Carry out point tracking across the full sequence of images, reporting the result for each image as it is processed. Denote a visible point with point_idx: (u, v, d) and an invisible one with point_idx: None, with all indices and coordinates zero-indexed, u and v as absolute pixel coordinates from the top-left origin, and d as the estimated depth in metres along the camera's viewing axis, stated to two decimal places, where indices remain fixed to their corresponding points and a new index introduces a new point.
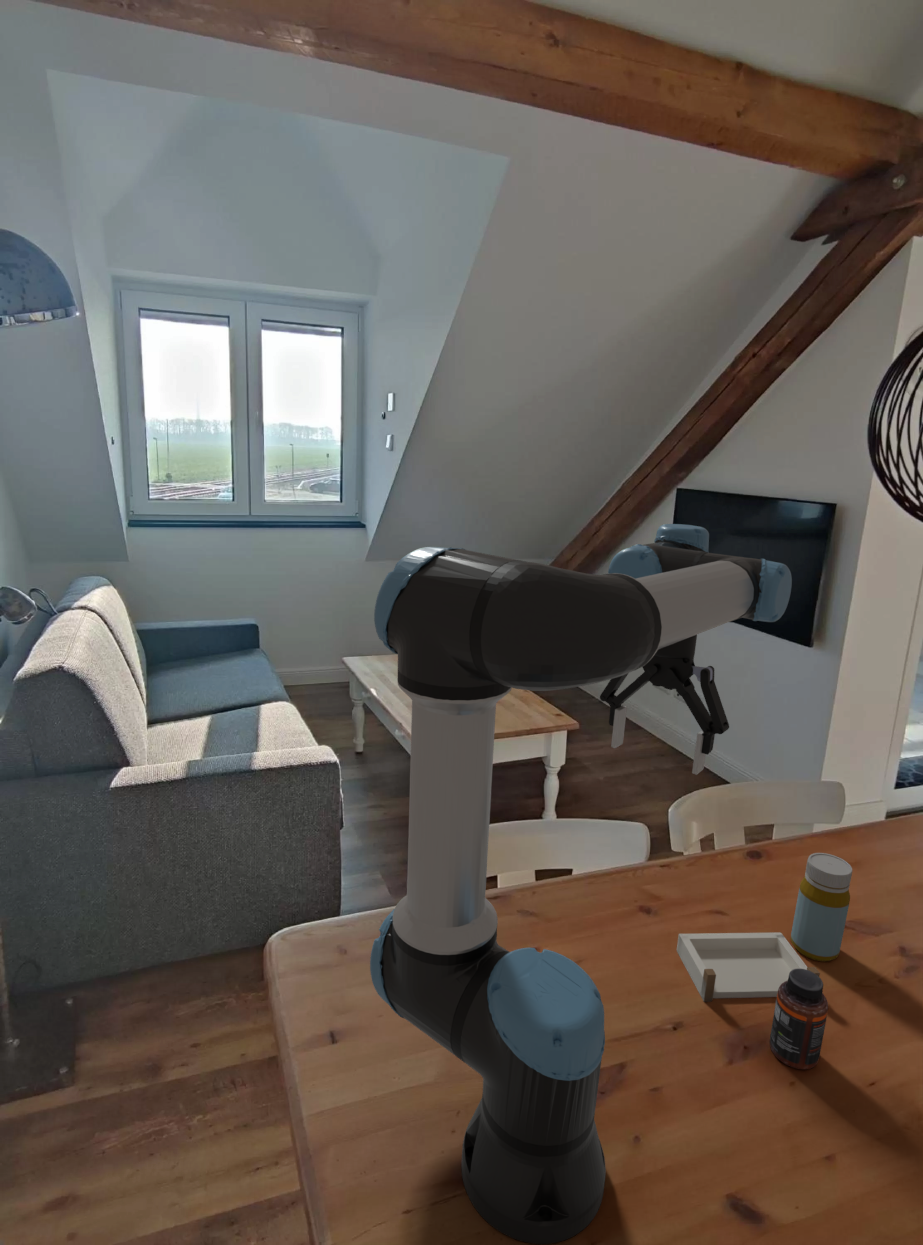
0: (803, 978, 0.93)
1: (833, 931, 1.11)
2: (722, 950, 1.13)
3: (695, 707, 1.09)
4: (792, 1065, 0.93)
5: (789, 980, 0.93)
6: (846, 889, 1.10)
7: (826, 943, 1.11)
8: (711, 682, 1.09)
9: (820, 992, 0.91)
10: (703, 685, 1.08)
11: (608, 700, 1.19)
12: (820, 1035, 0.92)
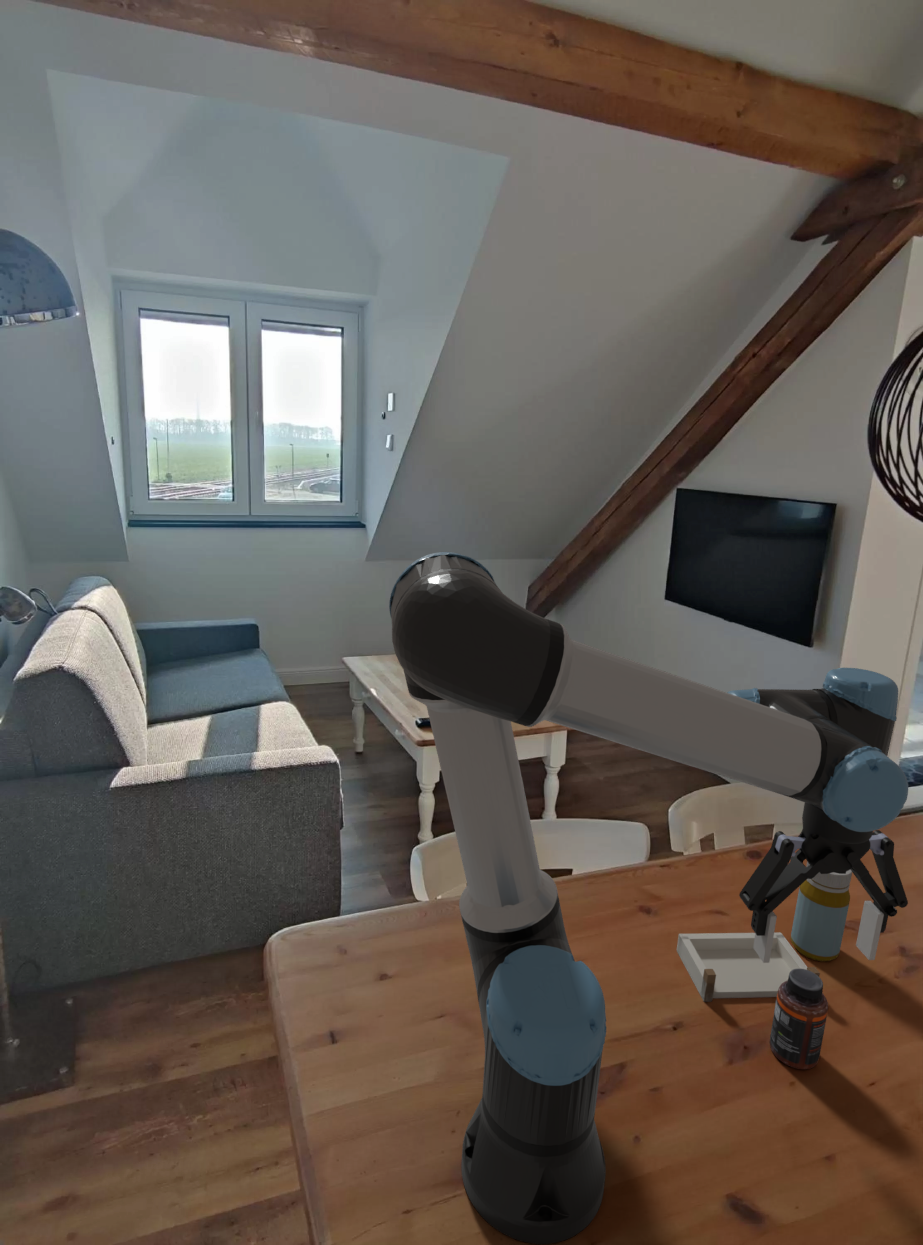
0: (803, 978, 0.93)
1: (833, 931, 1.11)
2: (722, 950, 1.13)
3: (875, 885, 0.89)
4: (792, 1065, 0.93)
5: (789, 980, 0.93)
6: (846, 889, 1.10)
7: (826, 943, 1.11)
8: None
9: (820, 992, 0.91)
10: (887, 859, 0.88)
11: None
12: (820, 1035, 0.92)
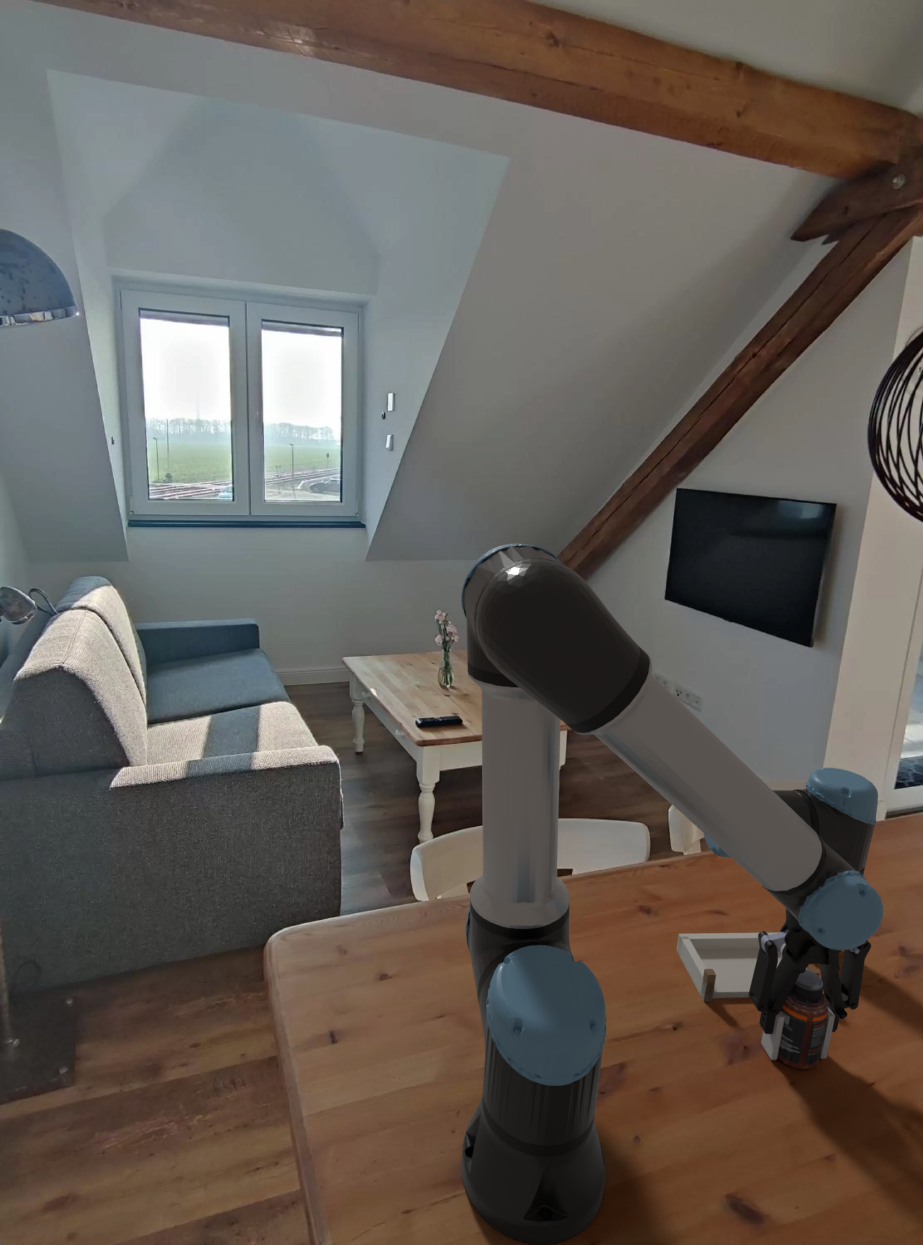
0: (804, 978, 0.93)
1: None
2: (722, 950, 1.13)
3: (838, 985, 0.92)
4: (792, 1065, 0.93)
5: None
6: None
7: None
8: None
9: (820, 992, 0.91)
10: (859, 959, 0.91)
11: None
12: (820, 1035, 0.92)
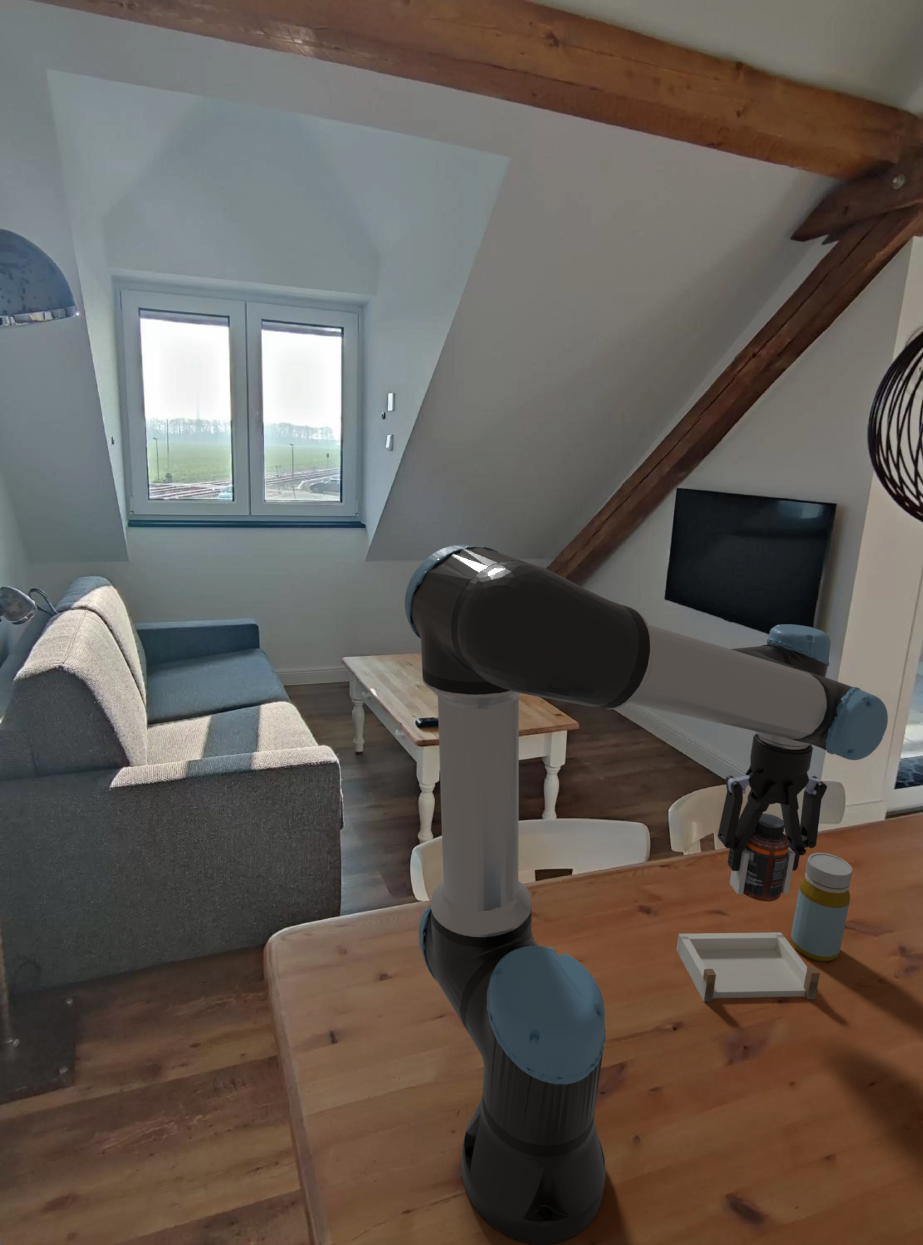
0: (767, 819, 1.03)
1: (833, 931, 1.11)
2: (722, 950, 1.13)
3: (798, 824, 1.02)
4: (756, 898, 1.03)
5: None
6: (846, 889, 1.10)
7: (826, 943, 1.11)
8: None
9: (781, 830, 1.01)
10: (816, 799, 1.01)
11: None
12: (781, 869, 1.02)
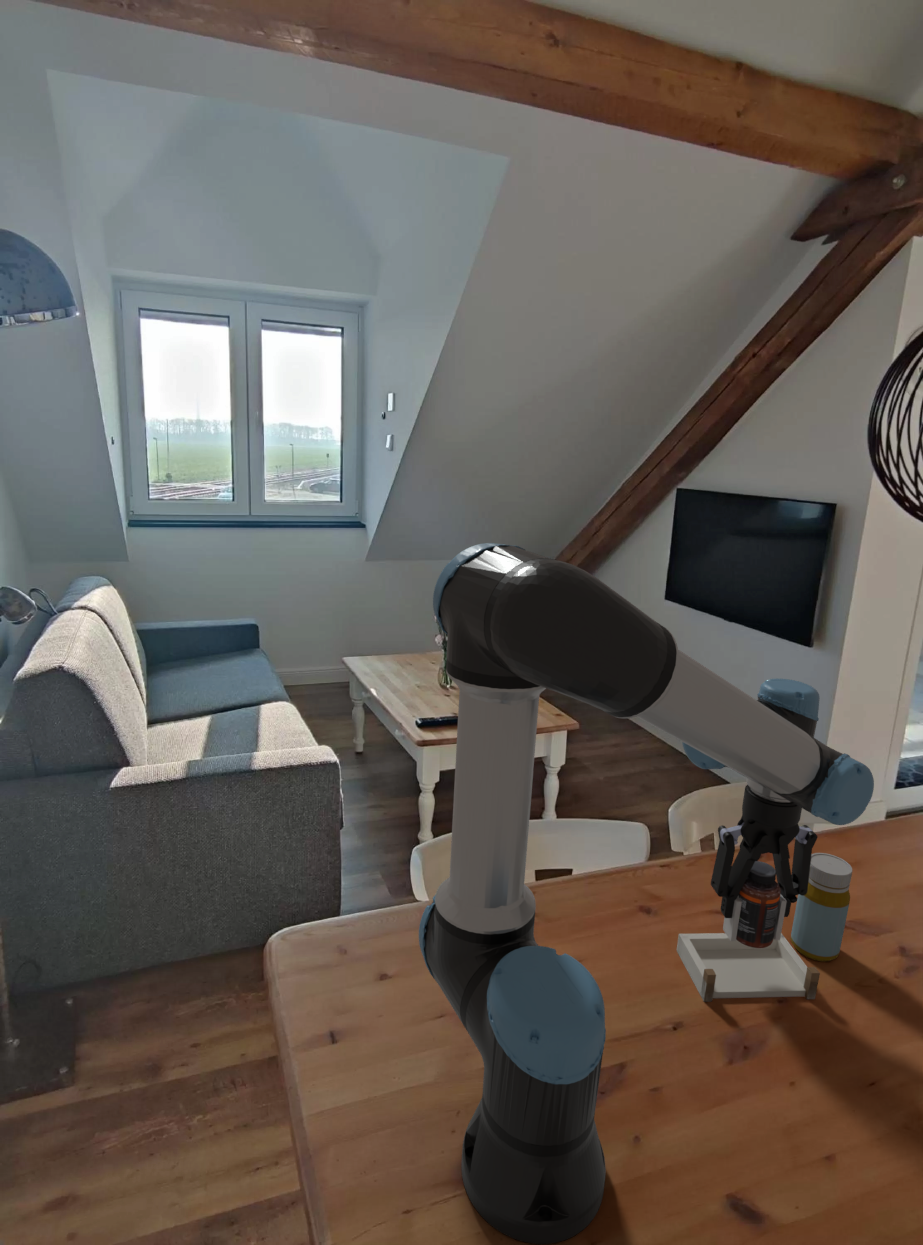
0: (759, 867, 1.05)
1: (833, 931, 1.11)
2: (722, 950, 1.13)
3: (789, 872, 1.04)
4: (749, 944, 1.05)
5: None
6: (846, 889, 1.10)
7: (826, 943, 1.11)
8: None
9: (773, 878, 1.03)
10: (807, 848, 1.03)
11: None
12: (773, 916, 1.04)
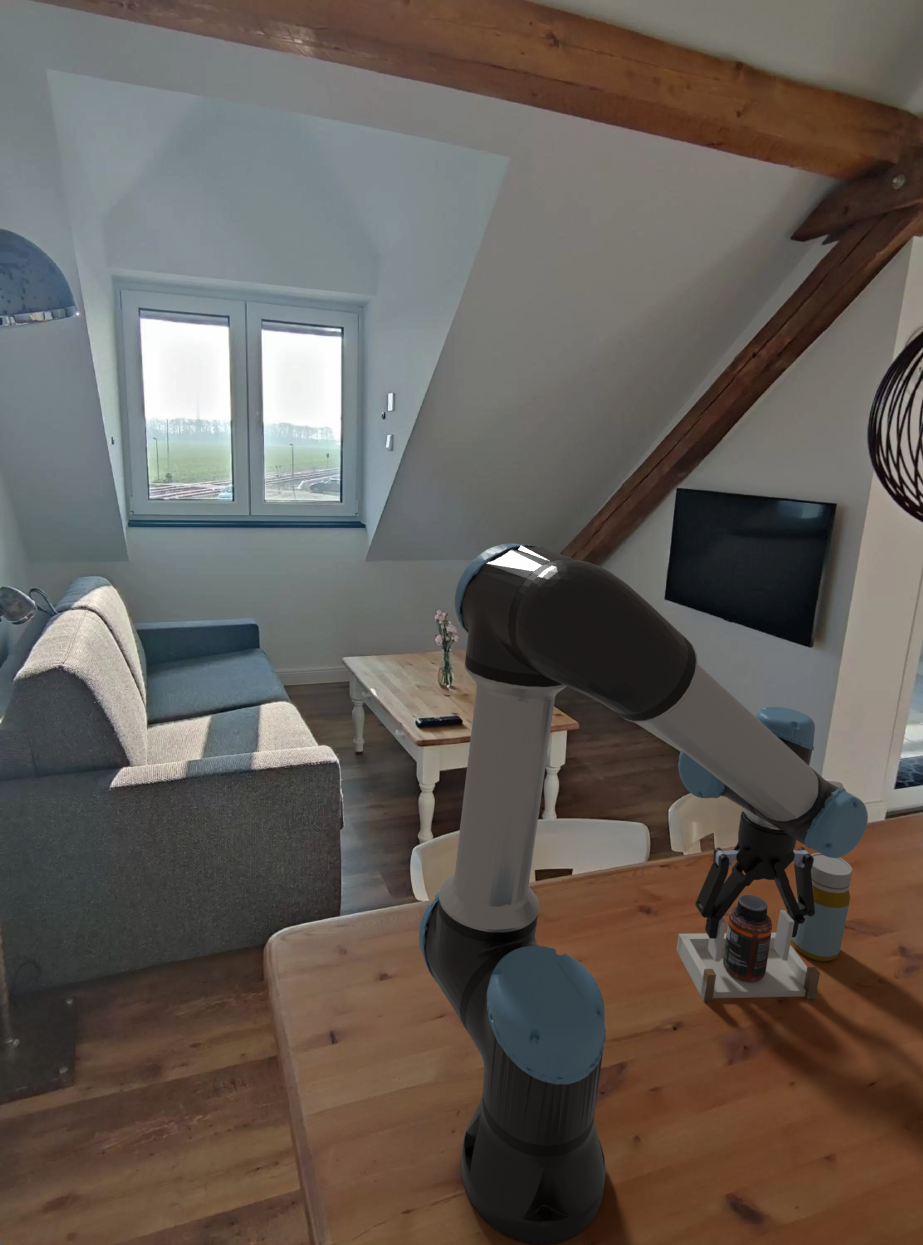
0: (750, 901, 1.06)
1: (833, 931, 1.11)
2: (722, 950, 1.13)
3: (792, 895, 1.05)
4: (741, 978, 1.06)
5: (738, 903, 1.06)
6: (846, 889, 1.10)
7: (826, 943, 1.11)
8: None
9: (764, 912, 1.05)
10: (805, 871, 1.04)
11: None
12: (765, 950, 1.05)
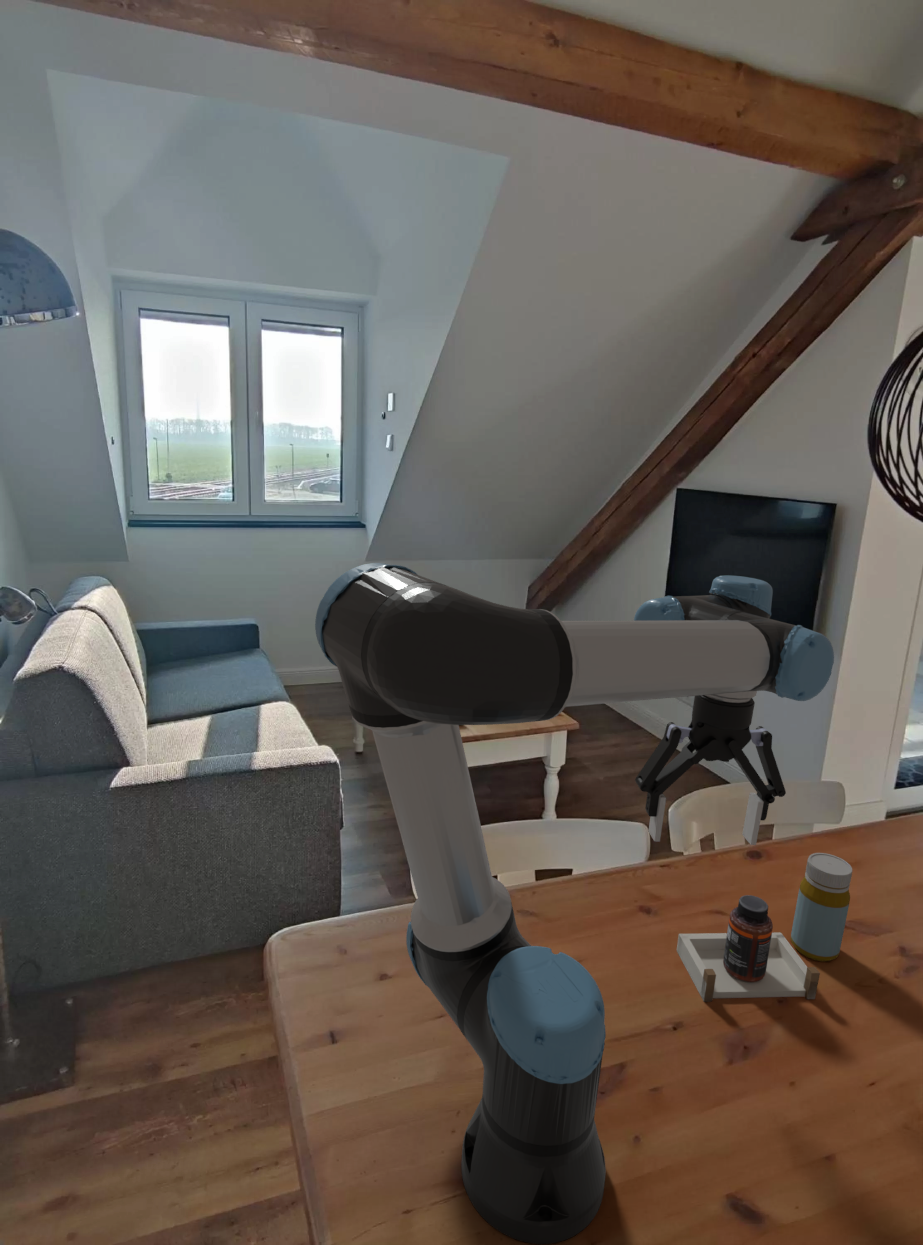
0: (751, 902, 1.06)
1: (833, 931, 1.11)
2: (722, 950, 1.13)
3: (756, 774, 0.99)
4: (741, 978, 1.06)
5: (739, 904, 1.06)
6: (846, 889, 1.10)
7: (826, 943, 1.11)
8: None
9: (765, 913, 1.05)
10: (766, 750, 0.98)
11: (648, 788, 0.99)
12: (765, 951, 1.05)
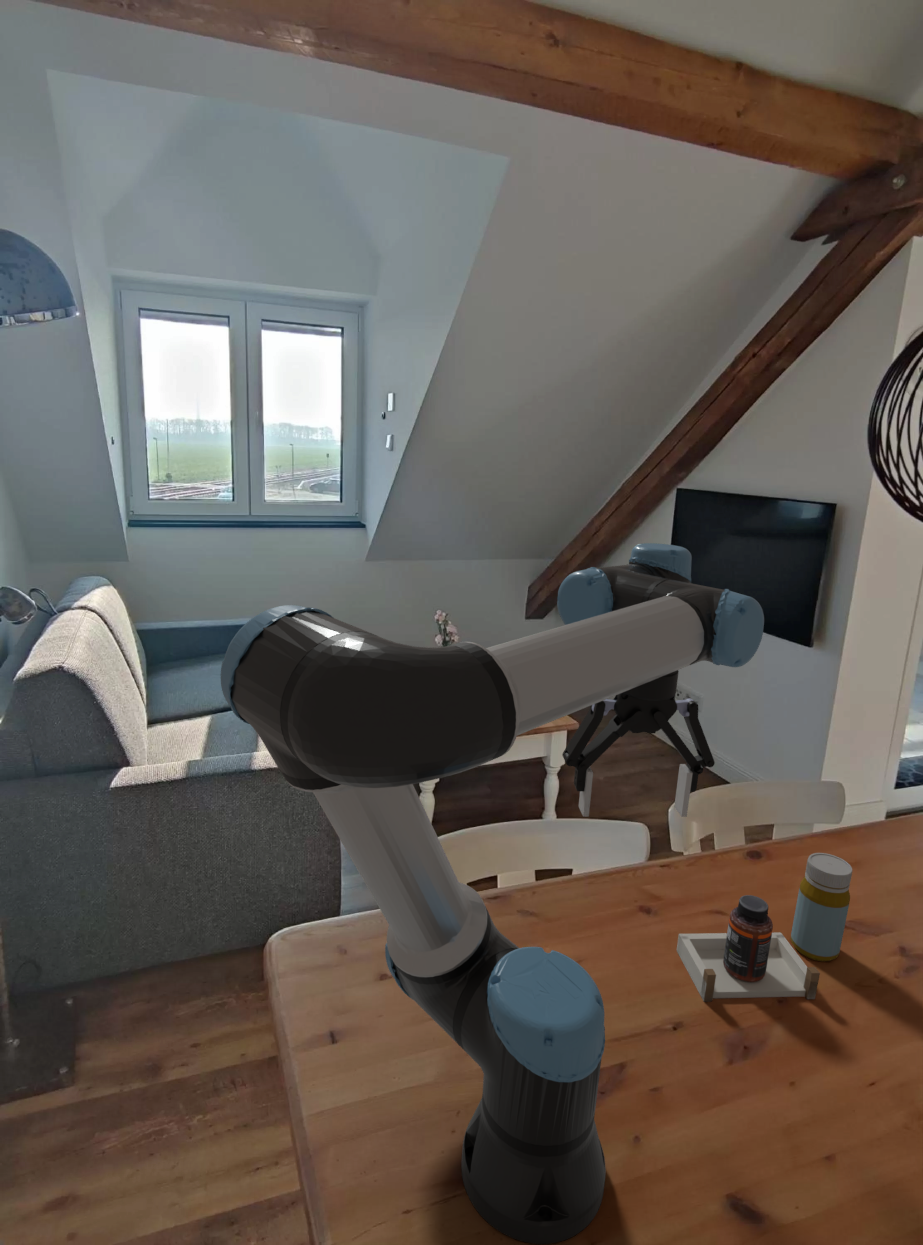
0: (751, 902, 1.06)
1: (833, 931, 1.11)
2: (722, 950, 1.13)
3: (683, 745, 0.97)
4: (741, 978, 1.06)
5: (739, 904, 1.06)
6: (846, 889, 1.10)
7: (826, 943, 1.11)
8: None
9: (765, 913, 1.05)
10: (692, 720, 0.97)
11: (575, 763, 0.97)
12: (765, 951, 1.05)
